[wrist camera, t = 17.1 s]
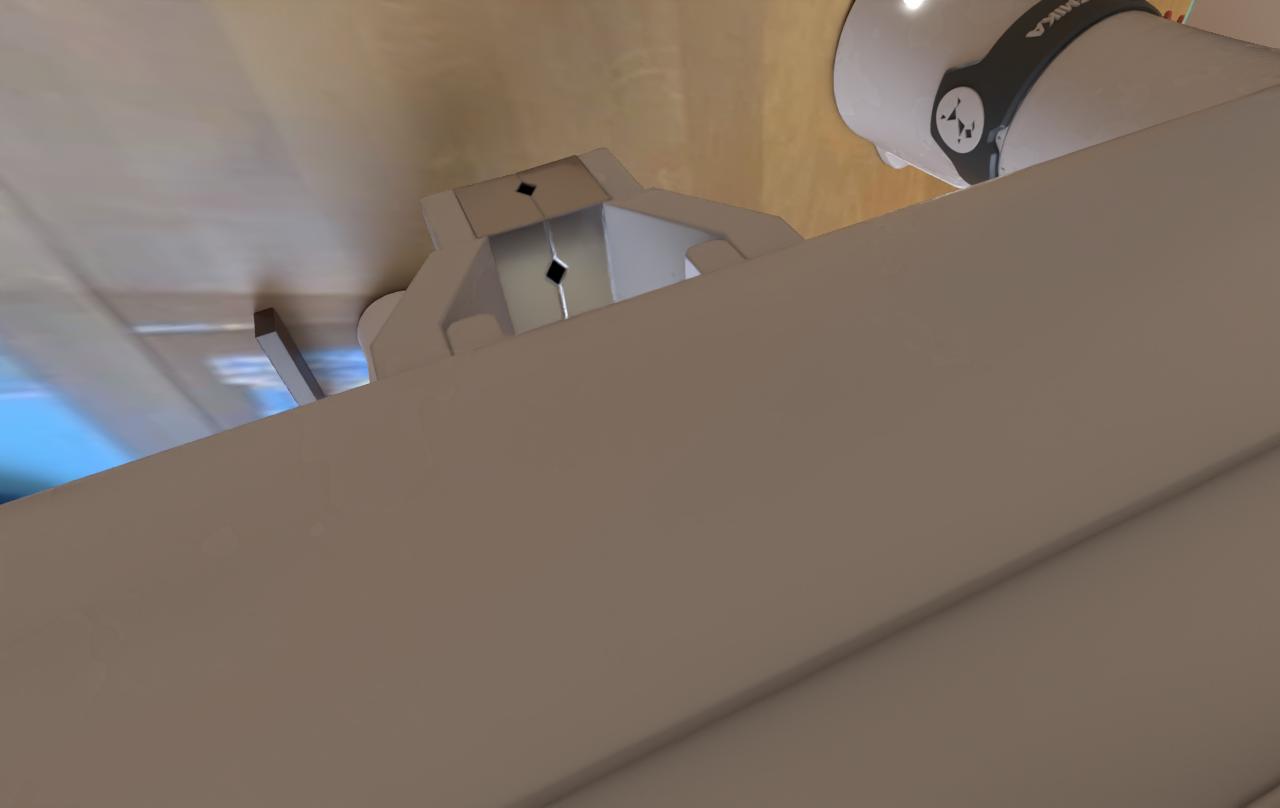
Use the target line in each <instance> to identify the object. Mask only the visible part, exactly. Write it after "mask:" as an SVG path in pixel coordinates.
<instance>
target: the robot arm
mask: <svg viewBox="0 0 1280 808" xmlns="http://www.w3.org/2000/svg"><path fill="white" fill-rule="evenodd" d="M1171 15H1172V11H1167V12H1166V13H1165V15H1164V16H1163V17H1162V15H1161V14H1160V12H1159V11H1158V10H1157V9H1156V8H1155V7H1154V6H1152V5H1151V4H1150V3H1148V2H1147V1H1145V0H856V1H855V3H854V4H853V7H852V9H851V11H850V13H849V15H848V18H847V20H846V22H845V25H844V28H843V30H842V34H841V37H840V40H839V44H838V48H837V53H836V58H835V65H834V94H835V100H836V104H837V107H838V110H839V112H840V115H841V117H842V119H843V120H844V122H845V123H846V125H847V126H848V127H849V128H850V129H851V130H852V131H853V132H854V133H856V134H857V135H859V136H861V137H863V138H865V139H867V140H869V141H870V142H872V143H873V144H874V145H875V146H876V149H877V151H878V153H879V155H880V157H881V159H882V160H883V161H884V163H885V164H887V165H889V166H891V167H893V168H896V169H900V168H903V167H905V166H907V165H909V164H910V165H912V166H914V167H916V168H918V169H920V170H922V171H924V172H926V173H928V174H930V175H932V176H934V177H936V178H938V179H941V180H943V181H945V182H947V183H949V184H951V185H953V186H955V187H958V188H962V189H959V190H956V191H953V192H950V193H947V194H944V195H941V196H938V197H935V198H932V199H929V200H926V201H923V202H920V203H917V204H914V205H911V206H908V207H905V208H902V209H899V210H896V211H892V212H889V213H886V214H883V215H880V216H877V217H874V218H871V219H868V220H865V221H862V222H859V223H856V224H853V225H850V226H847V227H844V228H841V229H838V230H835V231H832V232H829V233H826V234H823V235H820V236H817V237H813V238H810V239H807V240H805V239H804V238H803V237H802V236H801V235H799V234H798V233H797V232H796V231H795V230H794V229H793V228H792V227H791V226H790V225H788V224H787V223H786V222H785V221H784V220H783V219H782V218H781V217H778V216H774V215H770V214H765V213H761V212H757V211H753V210H748V209H744V208H740V207H736V206H731V205H727V204H723V203H719V202H714V201H710V200H706V199H701V198H697V197H693V196H689V195H684V194H680V193H676V192H672V191H667V190H663V189H659V188H654V187H652V188H649V189H644V188H643V187H642V186H641V185H640V184H639V183H638V182H637V181H636V179H635V178H634V177H633V176H632V175H631V174H630V173H629V172H628V171H627V170H626V168H625V167H624V166H623V165H622V164H621V163H620V162H619V161H618V160H617V159H616V157H615V156H614V155H613V154H612V153H611V152H610V151H609V150H608V149H607V148H604V147H601V148H598V149H595V150H592V151H589V152H586V153H583V154H580V155H577V156H576V155H573V156H570V157H567V158H564V159H560V160H557V161H554V162H550V163H547V164H544V165H540V166H537V167H534V168H530V169H527V170H524V171H520V172H517V173H514V174H510V175H506V176H502V177H498V178H494V179H490V180H486V181H482V182H479V183H475V184H471V185H467V186H463V187H459V188H455V189H452V190H451V189H448V190H444V191H441V192H438V193H435V194H431V195H428V196H425V197H422V198H419V202H420V205H421V208H422V211H423V214H424V217H425V220H426V223H427V226H428V229H429V232H430V235H431V238H432V241H433V244H434V247H435V250H436V251H433V252H431V253H430V254H429V256H428V257H427V259H426V260H425V262H424V263H423V265H422V267H421V268H420V270H419V271H418V273H417V274H416V276H415V277H414V279H413V280H412V282H411V283H410V285H409V286H408V288H407V290H406V291H405V293H404V294H403V296H402V297H401V299H400V300H399V302H398V303H397V305H396V306H395V308H394V309H393V311H392V313H391V314H390V316H389V317H388V319H387V320H386V322H385V323H384V325H383V326H382V328H381V329H380V331H379V332H378V334H377V336H376V337H375V339H374V340H373V342H372V343H371V345H370V346H369V347H370V351H371V355H372V360H373V364H374V369H375V373H376V377H377V381H375V382H372V383H369V384H366V385H363V386H360V387H357V388H353V389H350V390H347V391H344V392H341V393H338V394H335V395H332V396H329V397H326V398H323V399H320V400H317V401H314V402H311V403H308V404H305V405H302V406H299V407H296V408H293V409H290V410H287V411H283V412H280V413H277V414H274V415H271V416H268V417H265V418H262V419H259V420H256V421H253V422H250V423H247V424H244V425H241V426H238V427H235V428H232V429H229V430H226V431H223V432H220V433H217V434H214V435H211V436H208V437H205V438H202V439H199V440H196V441H193V442H189V443H186V444H183V445H180V446H177V447H174V448H171V449H168V450H165V451H162V452H159V453H156V454H153V455H150V456H147V457H144V458H141V459H138V460H135V461H132V462H129V463H126V464H123V465H120V466H117V467H114V468H111V469H108V470H105V471H102V472H98V473H95V474H92V475H89V476H86V477H83V478H80V479H77V480H74V481H71V482H68V483H65V484H62V485H59V486H56V487H53V488H50V489H47V490H44V491H41V492H38V493H35V494H32V495H28V496H25V497H22V498H19V499H16V500H13V501H10V502H7V503H4V504H1V505H0V808H1280V49H1278V48H1271V47H1267V46H1263V45H1258V44H1255V43H1251V42H1246V41H1243V40H1239V39H1234V38H1231V37H1227V36H1224V35H1220V34H1216V33H1213V32H1208V31H1205V30H1202V29H1198V28H1195V27H1191V26H1188V25H1185V24H1181V23H1182V21H1183V19H1184V16H1185V15H1181V16H1180V17H1179V18H1178V20H1177V22H1175V21H1172V20H1171Z"/></svg>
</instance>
